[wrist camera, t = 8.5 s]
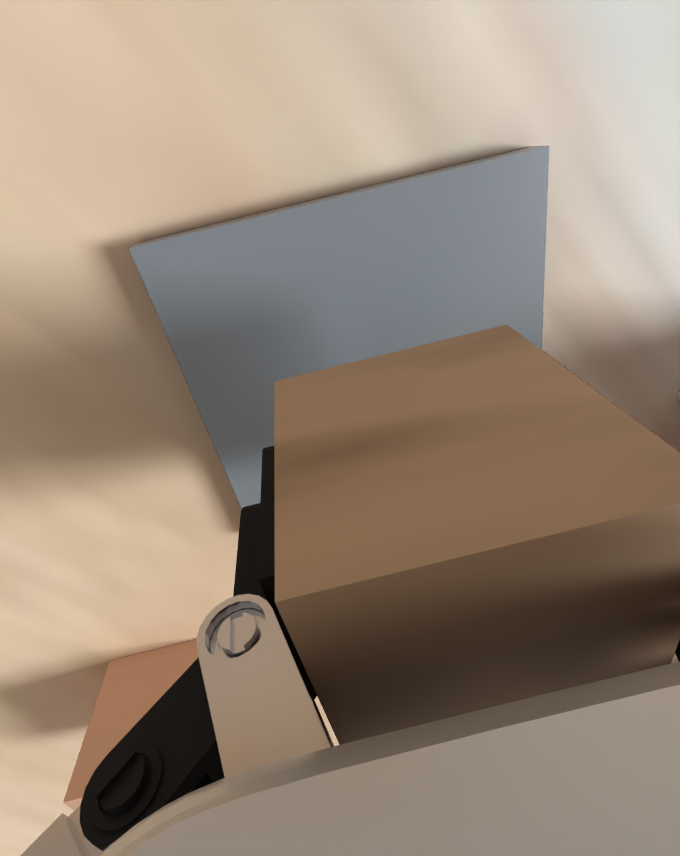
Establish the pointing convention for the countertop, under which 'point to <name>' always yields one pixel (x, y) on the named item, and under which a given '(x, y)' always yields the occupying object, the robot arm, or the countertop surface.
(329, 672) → the walnut brick
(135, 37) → the countertop surface
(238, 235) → the baseplate
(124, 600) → the countertop surface
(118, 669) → the salmon pink cube
